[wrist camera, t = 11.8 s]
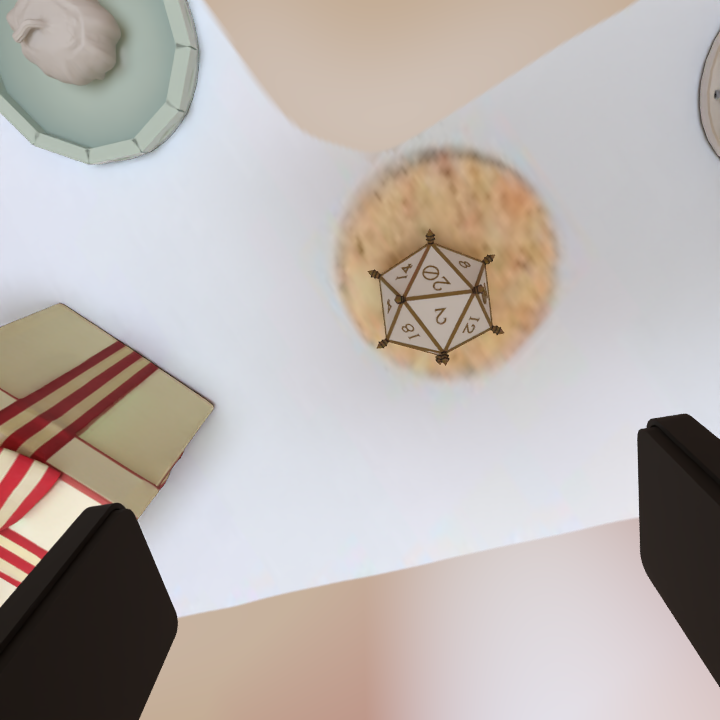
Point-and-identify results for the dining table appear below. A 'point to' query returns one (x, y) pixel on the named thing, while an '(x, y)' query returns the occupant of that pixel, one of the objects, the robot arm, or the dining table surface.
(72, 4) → the garlic
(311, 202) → the dining table surface
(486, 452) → the dining table surface
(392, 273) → the game die
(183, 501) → the dining table surface
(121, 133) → the plate
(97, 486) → the gift box
